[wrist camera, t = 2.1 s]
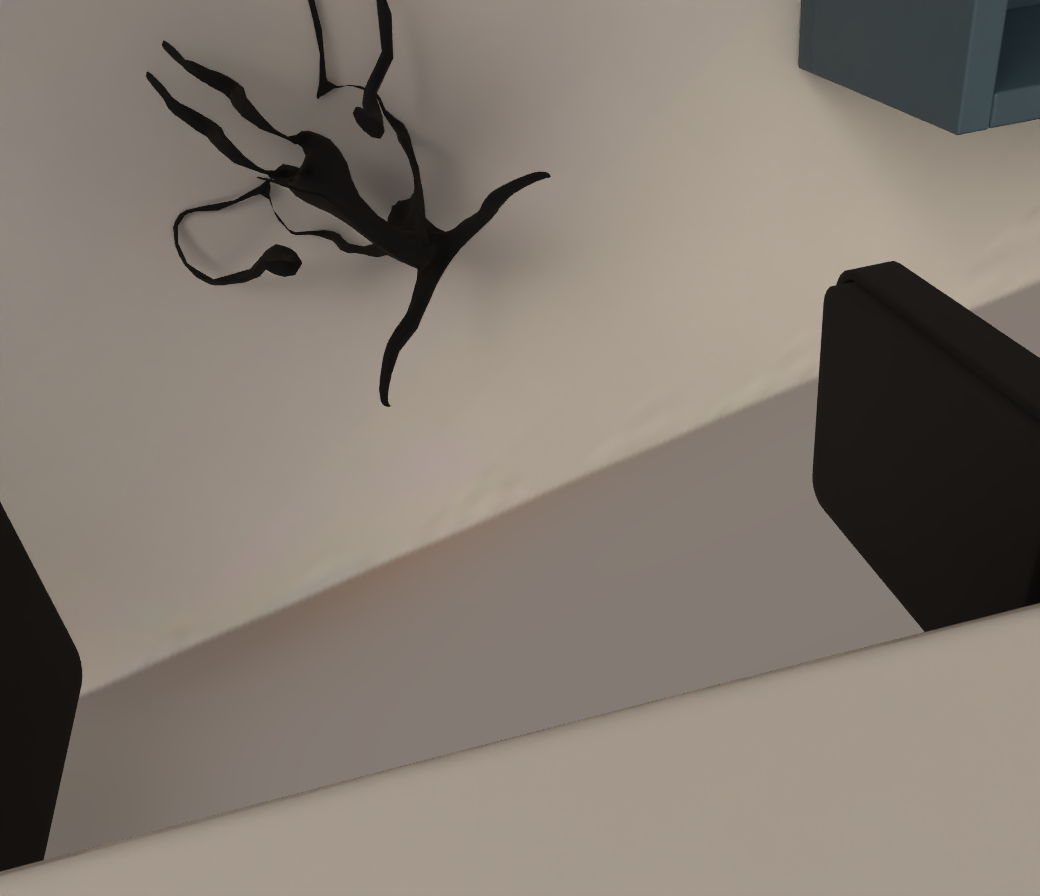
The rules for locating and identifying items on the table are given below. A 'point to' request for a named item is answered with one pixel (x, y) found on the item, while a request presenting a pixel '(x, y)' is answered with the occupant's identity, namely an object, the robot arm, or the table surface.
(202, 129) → the creature
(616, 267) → the table surface
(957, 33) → the teal open box
